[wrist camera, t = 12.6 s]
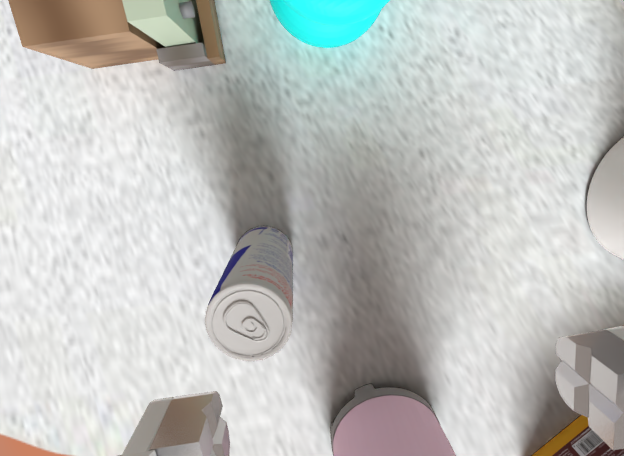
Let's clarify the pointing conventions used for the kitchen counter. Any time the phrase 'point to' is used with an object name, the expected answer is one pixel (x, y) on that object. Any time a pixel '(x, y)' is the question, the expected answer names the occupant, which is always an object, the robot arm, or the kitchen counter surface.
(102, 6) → the cabinet
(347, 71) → the kitchen counter surface
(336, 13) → the donuts
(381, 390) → the blender
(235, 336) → the beverage can
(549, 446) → the supplement box
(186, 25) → the pale green flat block
